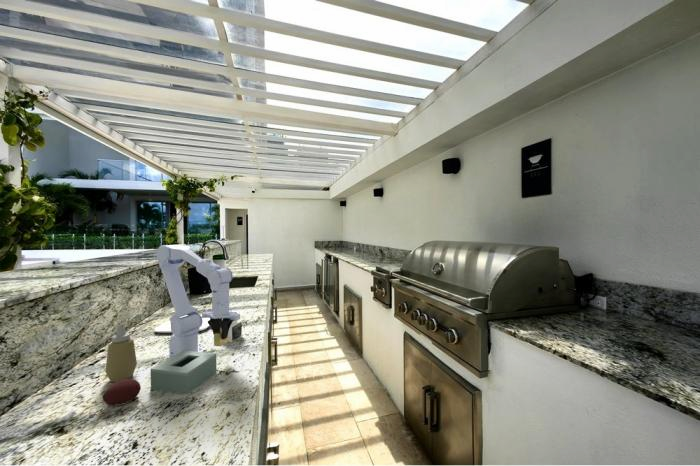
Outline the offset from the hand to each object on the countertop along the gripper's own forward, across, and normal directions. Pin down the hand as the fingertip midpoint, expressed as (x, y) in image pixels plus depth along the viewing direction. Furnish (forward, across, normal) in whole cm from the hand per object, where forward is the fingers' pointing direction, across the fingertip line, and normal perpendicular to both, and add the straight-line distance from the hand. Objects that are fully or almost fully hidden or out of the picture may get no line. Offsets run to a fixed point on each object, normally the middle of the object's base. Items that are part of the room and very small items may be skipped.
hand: (221, 338), depth 101 cm
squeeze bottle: (+9, -26, -15) cm, 32 cm away
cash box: (+9, -4, -12) cm, 16 cm away
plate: (+10, -42, +32) cm, 53 cm away
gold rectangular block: (+2, 0, 0) cm, 2 cm away
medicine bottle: (+9, -11, +20) cm, 25 cm away
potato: (+10, -13, -26) cm, 30 cm away
